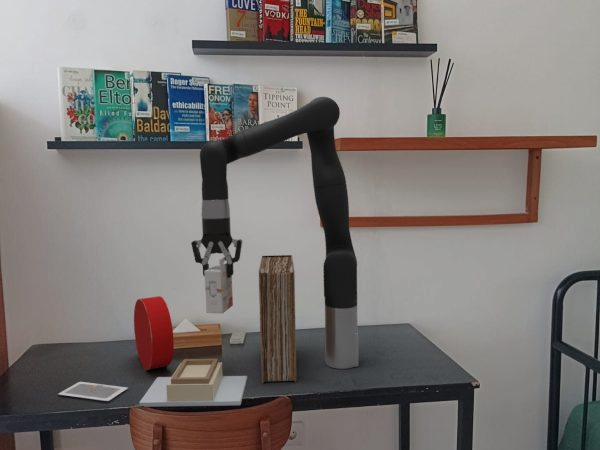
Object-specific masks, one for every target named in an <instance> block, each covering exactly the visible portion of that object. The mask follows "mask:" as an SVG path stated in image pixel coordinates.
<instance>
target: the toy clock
mask: <svg viewBox="0 0 600 450" xmlns="http://www.w3.org/2000/svg"><path fill="white" fill-rule="evenodd" d="M133 309H134V311H133V328H134V330H133V331H134V332H133V333H134V338H135V344H136V351H137V354H138V358H139V360H140V363H141V365H142V368H143V369H144V370H145V371H149V370H155V369H159V368H164V367H168V366H170V365H171V363H172V362H173V357H174V348H175V347H174V330H173V323H172V317H171V315H170V311H169V310H170V309H169V307H168V304H167V303H166V301H165V299H164V298H163V297H162V296H161V295H158V296H151V297H144V298H138V299H136V301H135V304H134V308H133Z"/></svg>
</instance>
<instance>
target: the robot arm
mask: <svg viewBox="0 0 600 450" xmlns="http://www.w3.org/2000/svg"><path fill="white" fill-rule="evenodd" d="M340 114H341V112H340V107H339V105H338V103H337V102H336V101H335V100H334V99H332V98H330V97H327V96H319V97H318V96H317V97H316V98H314V99H312V100H311V101H309V103H306V104H305V105H303V106H302V107H300V108H298V109H295V110H293V111H292V112H289V113H288V114H284V115H282V116H280V117H277V118H274V119H271V120H269V121H265V122H262V123H259V124H256V125H254V126H251V127H248V128H245V129H243V130H240V131H238V132H235V133H233V135H231V136H229V137H226V138H222V139H220V140H217V141H209V142H205V144H203V146H202V147H201V148H200V152H199V161H200V172H201V180H202V181H201V200H202V201H201V227H202V228H201V229H202V237H201V239H198V240H193V241H192V242H191V243H190V244H191V248H192V249H191V250H192V252H193V256H194V261H195V263H197V264H198V263H199V264H201V265H202V275H203V277H205V274H204V271H205V270H208V269H210V263H209V261H210V259H211V256H212V254H213V255H214V254H222V255H223V256H224V257H225V258H226V260H227V261H226V263H227V262H228V264H227V272H228V278H231V276H233V275H234V263H237V262H239V261H240V259H241V253H242V246H243V239H241V238H239V239H235V238H233V237H232V235H231V234H232V232H231V213H230V212H231V211H230V210H231V209H230V203H229V185H228V180H227V172H228V171H227V170H228V168H227V167H228V166H227V165H229V164H231V163H233V162H236V161H238V160H240V159H243V158H247V157H250V156H253V155H255V154H258V153H261V152H263V151H265V150H268V149H270V148H272V147H275V146H278V145H279V144H281V143H283V142H285V141H287V140H290V139H292V138H294V137H297V136H300V135H303V134H306V136H307V137H306V138H307V141H308V144H309V149H310V156H311V157H310V158H311V160H310V161H311V173H312V175H311V176H312V184H313V192H314V200H315V204H316V209H317V212H318V213H317V214H318V215H319V218H320V222H321V226H322V228H323V231H324V232H323V233H324V239H325V240H324V241H325V259H324V262H323V297H324V329H325V330H324V341H325V342H324V345H325V346H324V347H325V351H324V353H325V355H324V359H325V365H326V366H328V367H329V368H331V369H332V368H333V369H341V370H347V369H352V368H354V367H359V332H358V259H357V256H356V254H355V249H354V245H353V242H352V238H351V237H352V236H351V229H350V208H349V207H350V206H349V204H350V203H349V195H348V193H349V192H348V186H347V185H348V184H347V181H346V176H345V172H344V168H343V166H342V164H341V163H342V162H341V161H340V158H339V155H338V153H337V148H336V141H335V126H336V125H337V123H338V121H339V119H340ZM232 244H233V247H235V253H234V257H232V255H231V252H230V249H229V247H230V246H231V245H232ZM202 245H203V247H204V248H205V249H206V251H204V252H205V253H204V256H203V257H202V255H201V252H200V248H201V247H202ZM224 257H223V258H224Z"/></svg>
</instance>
